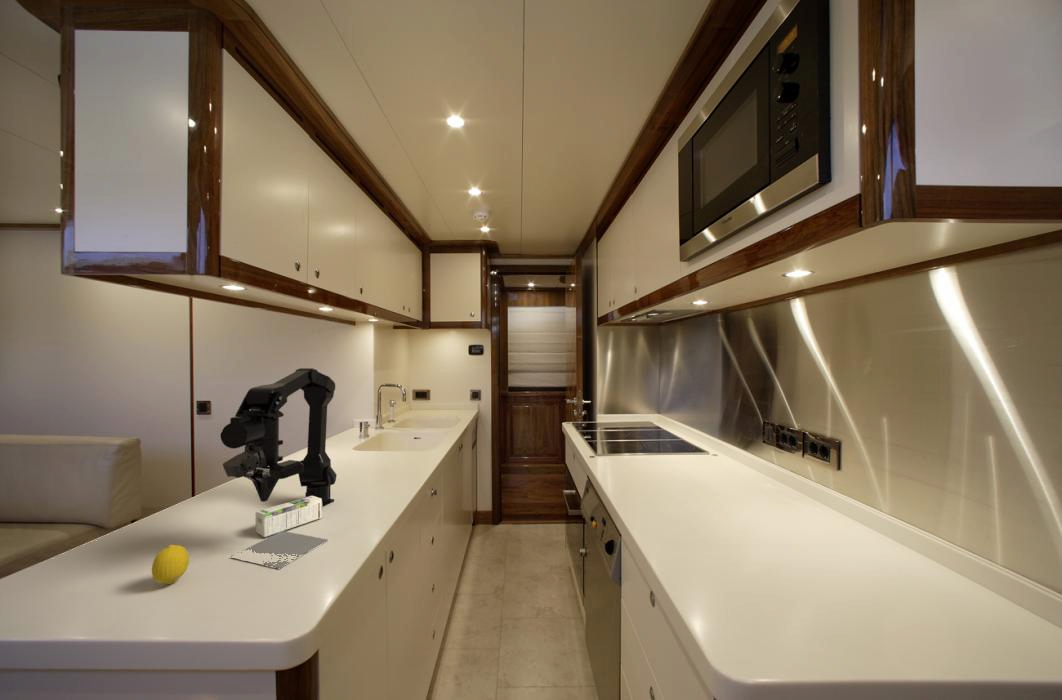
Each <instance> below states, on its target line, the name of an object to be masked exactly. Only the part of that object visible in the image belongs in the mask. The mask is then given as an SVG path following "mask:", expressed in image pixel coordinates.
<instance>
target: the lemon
mask: <svg viewBox="0 0 1062 700" xmlns="http://www.w3.org/2000/svg"><path fill="white" fill-rule="evenodd" d="M189 564H190V555H189V552H188V550H187V549H186V548H185V547H184V546H182V545H178V544H176V545H175V544H169V545H168V546H167V547H165V548H163V549H162V550H161V551H159V553H157V554H156V556H155V557H154V559H153V561H152V566H151V575H152V578H153V579H154V580H155V581H156V582H157V583H159V584H167V585H172V584H173V583H174V582H175V581H176V580H179V579H180V578H181V577H182V576H183V575H184V574H186V572H187V570H188V567H189Z"/></svg>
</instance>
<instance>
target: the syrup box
mask: <svg viewBox="0 0 1062 700" xmlns="http://www.w3.org/2000/svg"><path fill="white" fill-rule="evenodd" d="M322 518H323V507H322V499H321V498H318V497H315V496H309V497H306V498H305V497H303V498H298V499H296V500H293V501H289V502H285V503H281V504H278V505H275V506H271V507H267V508H265V509H261V510H258V511H255V530H256V531H255V532H256V534H258V535H260V536H262V537H263V538H266V537H267V538H268V537H271V536H273V535H275V534H277V533H279V532H282V531H287V530H290V529H293V528H295V527H298V526H301V525H304V524H308V523H310V522H313V521H316V520H319V519H322Z"/></svg>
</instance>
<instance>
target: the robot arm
mask: <svg viewBox="0 0 1062 700" xmlns="http://www.w3.org/2000/svg"><path fill="white" fill-rule="evenodd" d="M299 390H301V391H302V392H303V399H304V400H305V402H306V403H307V406H309V409H308V410H309V411H308V428H307V429H308V430H307V431H308V433H307V449H306V450H307V453H306V455H305V456H304V458H303V459H302V460H293V459H289V460H286V461H283V460H284V458H283V457H284V456H282V455H279V453H280V452H279V447H280V446H281V445H283V444H284V441H283V439H279V438H280V418H281V417H284V413H283V412H282V411H281V410H280V409H281V408H282V407H284V406H285V405H286V404H287V403H288V397H289V396H291V395H293V394H294V393H296V392H298V391H299ZM335 390H336V382H335V381H334V380H333V379H332V378H331V377H330V376H328V375H327V374H326V375H325V374H323V373H321V372H319V371H318V370H317V369H315V368H312V367H311V368H310V367H309V368H308V367H307V368H305V367H303V368H302V367H301V368H300V367H299V368H297V369H296V370H295V371H294V372H292V373H290V374H289V375H287V376H285V377H283V378H281V379H279V380H277V381H276V382H274V383H270V384H262V385H258V386H257V385H256V386H254V387H251V388H249V390H247V392H246V394H245V396H244V398H243V400H242V401H241V404H240V405H239V406H238V410H237V412H236V413H235V416H232V417H230V419H229V421H230V422H229V423H228V424H227V425H224V427H223V428H222V430H221V432H220V441H221V442H222V444H223V445H224V446H225V447H226V448H229V449H238V448H242V447H244V451H243V452H240V453H238V454H236V455H235V456H233V457H231V458H230V459H228V460H227V461H225V462H223V463H222V466H223V467H222V468H223V469H224V472H225V474H226V476H227V477H228V478H229V477H235V478H236V479H240V478H242V477H243V478H246V479H248V480H250V481H251V482H252V484H253V486H254V487H255V489H256V492H257V495H258V497H259V500H260V502H263V503H264V502H265V503H266V501H268V500H269V499H270V496H271V494H272V492H273V491H274V489H275V487H276V485H277V484H278V482H279V481H280V480H283V479H287V478H289V477H292V476H295V475H298V480H299V483H300V487H306V488H305V489H306V490H305V491H306V492H305V494H304V496H305V497H304V498H306V497H309V496H315V497H318V498H321V499H322V508H323V507H325V506H327V505H329V504H331V503H333V502H334V501H335V499H334V498H331V486H333V485H335V483H336V482H337V473H336V472H335V470H334V469H333V468H332V464H331V463H332V462H331V458H330V457H329V455H328V453H327V452H326V446H327V445H326V440H327V421H328V419H327V418H328V406H329V404H330V403H331V401H332V400H333V398H334V393H335ZM281 461H282V462H281Z"/></svg>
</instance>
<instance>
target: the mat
mask: <svg viewBox="0 0 1062 700" xmlns="http://www.w3.org/2000/svg"><path fill="white" fill-rule="evenodd" d="M326 541H327V542H328V539H326V538H321V537H315V536H312V535H310V536H309V535H307V534H306V535H305V534H300V533H296V532H290V531H287V530H284V531H282V532H279V533H276V534H273V535H270V536H268V537H267V538H264V539H263V540H261V541H259V542H257V543H255V544H253V545H251V546H249V547H247V548H245V549H246V550H248V549H249V550H251V549H252V552H253V553H254V551H255V552H256V553H260V554H261V553H264V554H265V553H269V554H272V553H274V554H275V555H277V554H281V555H282V554H284V555H283V556H286V557H288V556H287V555H286V554H288V555H291V556H296V554H297V556H296V557H299V555H302V554H304V553H306V552H308V551H309V550H311V549H313V548H315V547H317V546H318V545H320V544H322V543H323V544H325V543H326ZM324 542H325V543H324ZM323 544H322V545H323ZM320 546H321V545H320ZM250 547H251V548H250ZM318 547H319V546H318ZM318 547H317V548H318ZM245 549H244V550H245ZM315 549H316V548H315ZM246 550H245V551H246ZM313 550H314V549H313ZM239 552H240V551H239ZM239 552H237V553H239ZM241 553H242V552H241ZM285 553H286V554H285ZM308 553H309V552H308ZM292 554H295V555H292ZM233 555H234V554H233ZM233 555H230V556H231V557H232V556H233ZM281 555H277V556H279V557H282V556H281ZM271 556H273V555H271ZM282 558H283V557H282ZM294 558H295V557H294ZM271 559H272V558H271ZM279 559H281V558H279ZM286 559H288V558H286ZM286 559H284V560H286ZM291 560H294V559H291ZM279 561H281V560H278V561H277V562H272V563H271V562H269V561H268V562H269V563H267V562H265V563H263V564H264V565H268V566H273V567H276V568H281V567H282V566H284V565H285V564H287V563H289V562H287V561H288V560H287V561H283V562H279ZM263 562H264V561H263ZM275 563H277V564H275ZM273 564H275V565H273ZM281 569H282V568H281Z"/></svg>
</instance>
